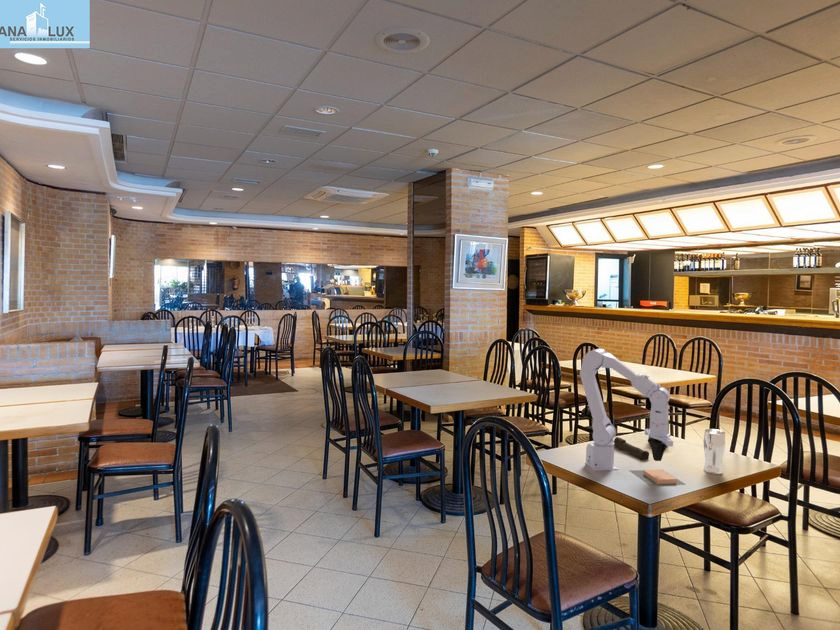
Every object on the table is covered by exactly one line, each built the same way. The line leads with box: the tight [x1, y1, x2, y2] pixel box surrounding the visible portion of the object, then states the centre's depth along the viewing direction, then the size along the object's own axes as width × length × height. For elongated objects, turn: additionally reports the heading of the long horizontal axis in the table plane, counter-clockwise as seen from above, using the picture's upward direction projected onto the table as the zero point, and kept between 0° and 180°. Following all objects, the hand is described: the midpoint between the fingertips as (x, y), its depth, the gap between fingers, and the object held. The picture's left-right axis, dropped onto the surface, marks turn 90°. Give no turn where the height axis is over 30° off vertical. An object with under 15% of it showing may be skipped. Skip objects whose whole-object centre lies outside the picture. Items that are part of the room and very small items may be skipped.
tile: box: [642, 469, 678, 484], centre depth 180 cm, size 7×2×9 cm
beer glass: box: [703, 428, 726, 475], centre depth 189 cm, size 7×7×15 cm
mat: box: [629, 469, 687, 486], centre depth 182 cm, size 13×14×1 cm
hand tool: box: [613, 436, 650, 461], centre depth 210 cm, size 19×4×5 cm, turn 14°
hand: (657, 460), depth 182 cm, fingers closed
